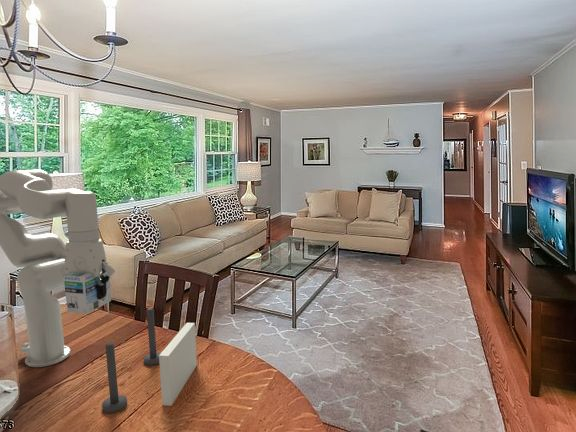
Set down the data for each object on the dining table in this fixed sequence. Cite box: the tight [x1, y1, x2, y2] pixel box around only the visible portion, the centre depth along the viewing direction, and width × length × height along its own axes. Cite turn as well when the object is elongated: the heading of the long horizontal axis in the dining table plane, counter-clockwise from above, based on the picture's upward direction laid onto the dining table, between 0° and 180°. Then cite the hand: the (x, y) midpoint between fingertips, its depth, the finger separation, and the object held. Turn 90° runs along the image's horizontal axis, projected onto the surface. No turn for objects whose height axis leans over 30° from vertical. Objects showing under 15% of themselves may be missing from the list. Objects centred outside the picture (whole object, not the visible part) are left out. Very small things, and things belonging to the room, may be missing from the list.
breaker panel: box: [159, 322, 198, 407], centre depth 113 cm, size 4×20×14 cm, turn 174°
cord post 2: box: [143, 307, 162, 366], centre depth 125 cm, size 6×6×17 cm
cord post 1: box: [101, 342, 128, 414], centre depth 103 cm, size 6×6×17 cm
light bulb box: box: [64, 272, 112, 315], centre depth 112 cm, size 11×7×11 cm, turn 169°
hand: (89, 296), depth 113 cm, fingers closed on light bulb box, 7 cm apart
